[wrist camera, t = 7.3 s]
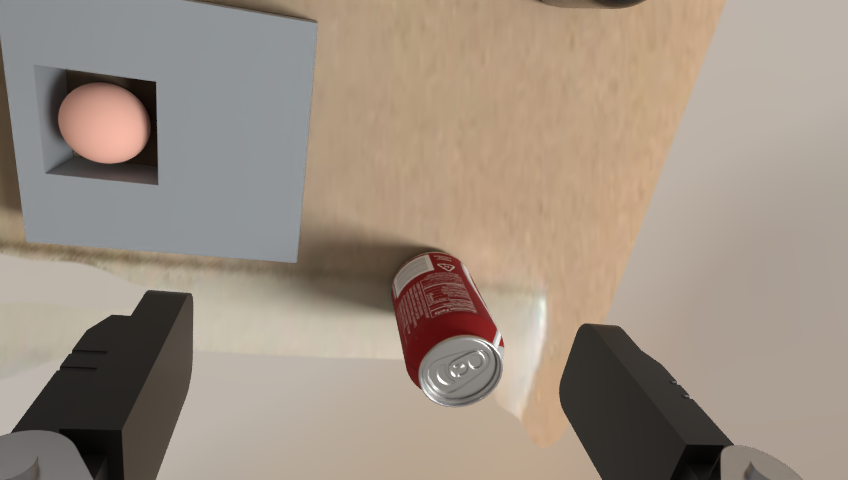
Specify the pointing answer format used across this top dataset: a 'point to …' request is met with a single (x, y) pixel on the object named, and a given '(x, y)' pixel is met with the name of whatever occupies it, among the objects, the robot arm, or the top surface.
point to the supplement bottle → (593, 3)
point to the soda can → (446, 330)
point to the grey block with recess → (166, 125)
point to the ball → (104, 122)
